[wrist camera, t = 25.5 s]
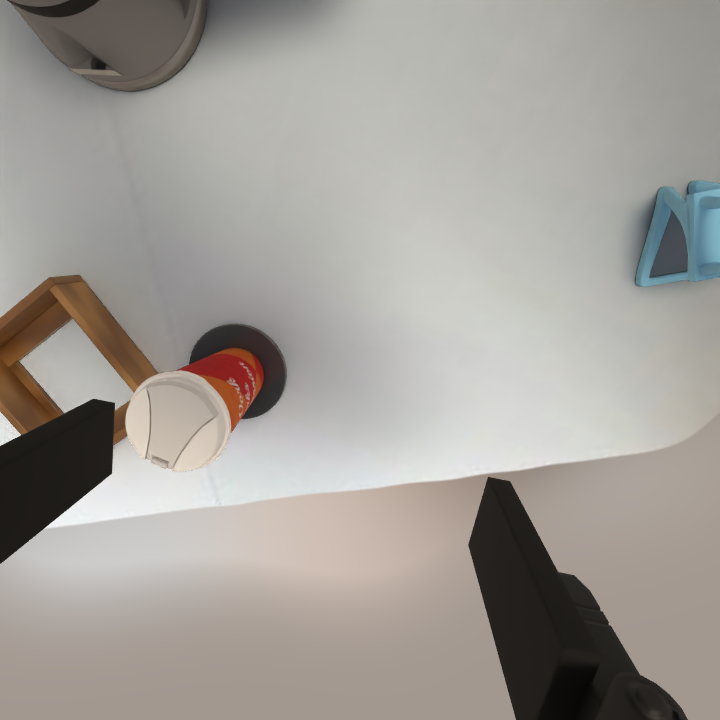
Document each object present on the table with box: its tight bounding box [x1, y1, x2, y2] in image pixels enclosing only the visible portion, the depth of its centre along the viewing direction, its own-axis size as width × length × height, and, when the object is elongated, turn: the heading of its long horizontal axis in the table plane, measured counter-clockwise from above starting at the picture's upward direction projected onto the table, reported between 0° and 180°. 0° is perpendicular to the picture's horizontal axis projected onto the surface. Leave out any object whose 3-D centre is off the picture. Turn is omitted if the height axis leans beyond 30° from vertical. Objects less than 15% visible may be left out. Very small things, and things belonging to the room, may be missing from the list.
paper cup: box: [125, 348, 264, 472], centre depth 37 cm, size 8×8×14 cm
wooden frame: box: [0, 275, 158, 445], centre depth 44 cm, size 16×14×4 cm
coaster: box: [189, 324, 287, 419], centre depth 44 cm, size 10×10×1 cm
